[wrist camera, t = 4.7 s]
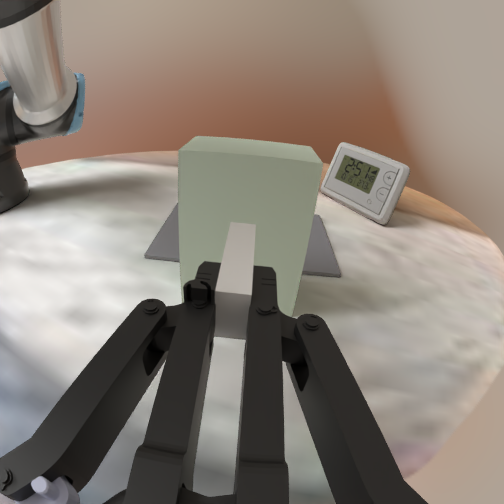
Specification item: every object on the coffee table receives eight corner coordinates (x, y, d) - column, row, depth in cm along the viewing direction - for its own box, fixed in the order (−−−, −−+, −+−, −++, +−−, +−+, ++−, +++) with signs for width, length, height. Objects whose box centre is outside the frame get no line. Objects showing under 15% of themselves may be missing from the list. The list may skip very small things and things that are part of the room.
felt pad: (178, 203, 47) (178, 201, 47) (318, 217, 47) (319, 215, 47) (144, 257, 33) (144, 254, 33) (340, 277, 33) (340, 274, 33)
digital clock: (315, 191, 58) (324, 139, 53) (350, 191, 61) (359, 142, 56) (368, 229, 45) (385, 165, 40) (404, 226, 49) (420, 168, 43)
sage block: (194, 269, 32) (196, 135, 25) (288, 278, 32) (310, 146, 25) (182, 306, 27) (178, 150, 20) (291, 316, 27) (323, 163, 20)
